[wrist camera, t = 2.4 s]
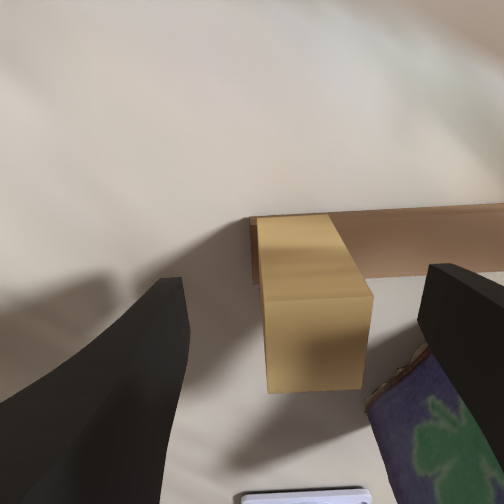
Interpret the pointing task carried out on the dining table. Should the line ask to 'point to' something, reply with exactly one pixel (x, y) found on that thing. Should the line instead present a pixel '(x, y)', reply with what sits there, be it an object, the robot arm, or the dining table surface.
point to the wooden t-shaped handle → (351, 280)
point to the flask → (432, 439)
